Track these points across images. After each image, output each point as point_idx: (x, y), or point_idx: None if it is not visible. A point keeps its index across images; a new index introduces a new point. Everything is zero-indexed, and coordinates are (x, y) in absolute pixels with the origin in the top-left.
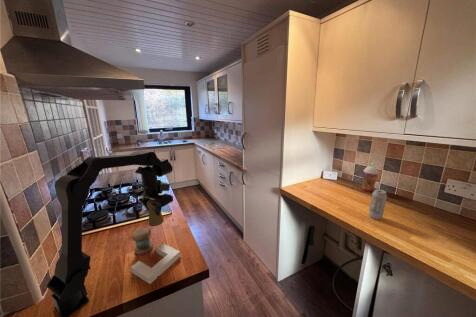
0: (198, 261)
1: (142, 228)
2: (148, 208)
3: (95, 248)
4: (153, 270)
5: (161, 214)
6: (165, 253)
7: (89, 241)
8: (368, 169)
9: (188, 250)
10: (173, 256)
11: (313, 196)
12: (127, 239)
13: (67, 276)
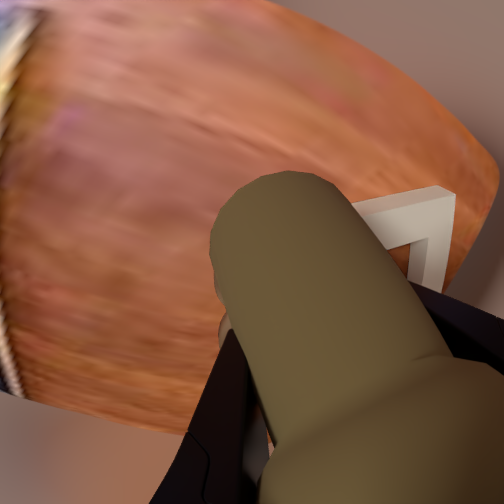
0: (486, 161)
1: (227, 326)
2: (263, 435)
3: (111, 384)
4: None
5: (374, 234)
6: (413, 239)
7: (60, 382)
8: None
9: (440, 139)
10: (451, 228)
11: None
12: (120, 305)
13: None
